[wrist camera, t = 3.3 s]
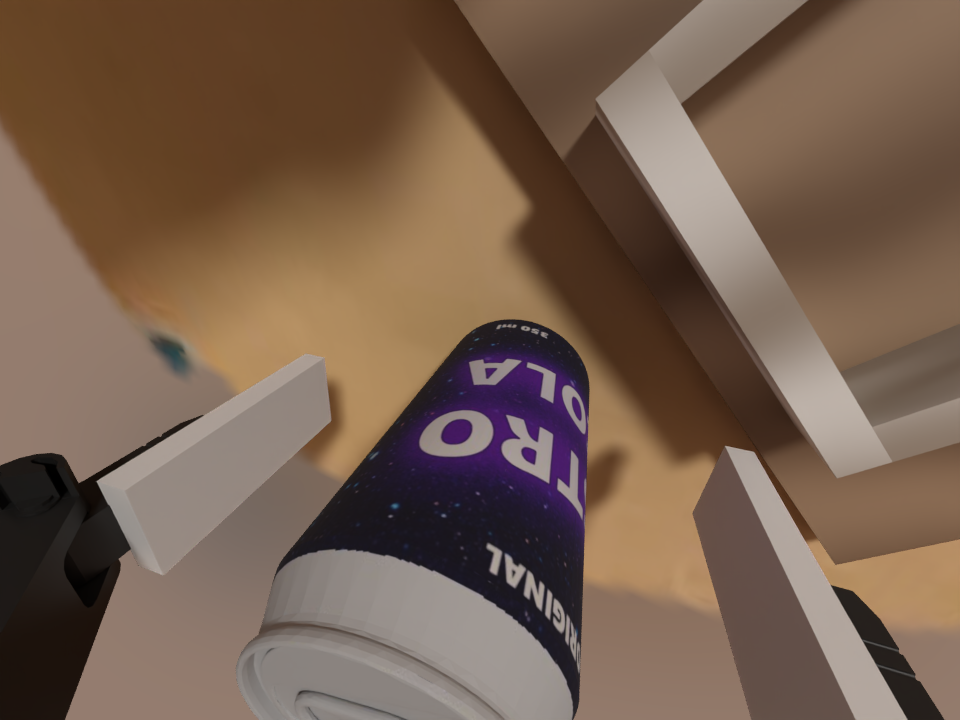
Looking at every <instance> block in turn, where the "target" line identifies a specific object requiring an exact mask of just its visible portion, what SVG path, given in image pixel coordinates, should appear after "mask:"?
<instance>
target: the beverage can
mask: <svg viewBox="0 0 960 720" xmlns="http://www.w3.org/2000/svg"><path fill="white" fill-rule="evenodd" d="M588 417H589V379H588V375H587V371H586V368H585V366H584V364H583V362H582V360H581V358H580V356H579V355H578V353H577V352H576V351H575V349H574V348H573V347H572V346H571V345H570V344H569V343H568V342H567V341H566V340H565V339H564V338H563V337H561V336H560V335H559V334H557V333H556V332H554V331H552V330H550V329H549V328H546V327H544V326H542V325H539V324H536V323H533V322H529V321H524V320H499V321H494V322H490V323H487V324H484V325H482V326H480V327H478V328H476V329H474V330H473V331H471V332H470V333H469V334H467V335H466V336H465V337H464V338H463V339H462V340H461V341H460V343H459V344H458V345H457V346H456V348H455V349H454V350H453V351H452V352H451V354H450V355H449V356H448V357H447V359H446V360H445V361H444V362H443V363H442V365H441V366H440V367H439V368H438V370H437V371H436V372H435V373H434V374H433V376H432V377H431V378H430V379H429V381H428V382H427V383H426V384H425V386H424V387H423V388H422V389H421V390H420V392H419V393H418V394H417V395H416V397H415V398H414V399H413V400H412V401H411V403H410V404H409V405H408V406H407V408H406V409H405V410H404V411H403V412H402V414H401V415H400V416H399V417H398V419H397V420H396V421H395V422H394V423H393V425H392V426H391V427H390V428H389V430H388V431H387V432H386V433H385V434H384V436H383V437H382V438H381V439H380V441H379V442H378V443H377V444H376V445H375V447H374V448H373V449H372V450H371V452H370V453H369V454H368V455H367V456H366V458H365V459H364V460H363V461H362V463H361V464H360V465H359V466H358V467H357V469H356V470H355V471H354V472H353V474H352V475H351V476H350V477H349V478H348V480H347V481H346V482H345V483H344V485H343V486H342V487H341V488H340V490H339V491H338V492H337V493H336V494H335V496H334V497H333V498H332V499H331V501H330V502H329V503H328V504H327V505H326V507H325V508H324V509H323V510H322V512H321V513H320V514H319V515H318V517H317V518H316V519H315V520H314V521H313V523H312V524H311V525H310V526H309V528H308V529H307V530H306V531H305V532H304V534H303V535H302V536H301V537H300V538H299V540H298V541H297V542H296V543H295V545H294V546H293V547H292V548H291V549H290V551H289V552H288V553H287V554H286V556H285V557H284V558H283V560H282V561H281V563H280V564H279V567H278V568H277V571H276V574H275V577H274V580H273V584H272V588H271V592H270V595H269V599H268V603H267V607H266V611H265V614H264V618H263V622H262V625H261V628H260V631H259V635H257V636H256V637H255V638H254V639H253V640H251V641H250V642H249V643H248V644H247V646H246V647H245V648H244V650H243V651H242V652H241V654H240V657H239V659H238V662H237V666H236V677H237V683H238V686H239V689H240V692H241V694H242V696H243V697H244V699H245V701H246V703H247V704H248V706H249V708H250V709H251V710H252V712H253V713H254V714H255V716H256V717H257V718H258V719H259V720H573V719H574V716H575V714H576V712H577V708H578V704H579V687H580V657H581V627H582V625H581V624H582V597H583V596H582V595H583V567H584V537H585V507H586V477H587V447H588Z"/></svg>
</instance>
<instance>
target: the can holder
mask: <svg viewBox="0 0 960 720" xmlns="http://www.w3.org/2000/svg"><path fill="white" fill-rule="evenodd" d="M454 1H455V3H456V4H457V6H458V7H459V9H460V10H461V12H462V13H463V15H464V16H465V18H466V19H467V21H468V22H469V24H470V25H471V26H472V28H473V29H474V31H475V32H476V34H477V35H478V37H479V38H480V40H481V41H482V43H483V44H484V46H485V47H486V49H487V50H488V52H489V53H490V55H491V56H492V58H493V59H494V61H495V62H496V63H497V65H498V66H499V68H500V69H501V71H502V72H503V74H504V75H505V77H506V78H507V80H508V81H509V83H510V84H511V86H512V87H513V89H514V90H515V92H516V93H517V95H518V96H519V97H520V99H521V100H522V102H523V103H524V105H525V106H526V108H527V109H528V111H529V112H530V114H531V115H532V117H533V118H534V120H535V121H536V123H537V124H538V126H539V127H540V129H541V130H542V132H543V133H544V134H545V136H546V137H547V139H548V140H549V142H550V143H551V145H552V146H553V148H554V149H555V151H556V152H557V154H558V155H559V157H560V158H561V160H562V161H563V163H564V164H565V166H566V167H567V168H568V170H569V171H570V173H571V174H572V176H573V177H574V179H575V180H576V182H577V183H578V185H579V186H580V188H581V189H582V191H583V192H584V194H585V195H586V197H587V198H588V200H589V201H590V203H591V204H592V205H593V207H594V208H595V210H596V211H597V213H598V214H599V216H600V217H601V219H602V220H603V222H604V223H605V225H606V226H607V228H608V229H609V231H610V232H611V234H612V235H613V237H614V238H615V239H616V241H617V242H618V244H619V245H620V247H621V248H622V250H623V251H624V253H625V254H626V256H627V257H628V259H629V260H630V262H631V263H632V265H633V266H634V268H635V269H636V271H637V272H638V273H639V275H640V276H641V278H642V279H643V281H644V282H645V284H646V285H647V287H648V288H649V290H650V291H651V293H652V294H653V296H654V297H655V299H656V300H657V302H658V303H659V305H660V306H661V308H662V309H663V310H664V312H665V313H666V315H667V316H668V318H669V319H670V321H671V322H672V324H673V325H674V327H675V328H676V330H677V331H678V333H679V334H680V336H681V337H682V339H683V340H684V342H685V343H686V344H687V346H688V347H689V349H690V350H691V352H692V353H693V355H694V356H695V358H696V359H697V361H698V362H699V364H700V365H701V367H702V368H703V370H704V371H705V373H706V374H707V376H708V377H709V379H710V380H711V381H712V383H713V384H714V386H715V387H716V389H717V390H718V392H719V393H720V395H721V396H722V398H723V399H724V401H725V402H726V404H727V405H728V407H729V408H730V410H731V411H732V413H733V414H734V415H735V417H736V418H737V420H738V421H739V423H740V424H741V426H742V427H743V429H744V430H745V432H746V433H747V435H748V436H749V438H750V439H751V441H752V442H753V444H754V445H755V447H756V448H757V450H758V451H759V452H760V454H761V455H762V457H763V458H764V460H765V461H766V463H767V464H768V466H769V467H770V469H771V470H772V472H773V473H774V475H775V476H776V478H777V479H778V481H779V482H780V484H781V485H782V486H783V488H784V489H785V491H786V492H787V494H788V495H789V497H790V498H791V500H792V501H793V503H794V504H795V506H796V507H797V509H798V510H799V512H800V513H801V515H802V516H803V518H804V519H805V521H806V522H807V523H808V525H809V526H810V528H811V529H812V531H813V532H814V534H815V535H816V537H817V538H818V540H819V541H820V543H821V544H822V546H823V547H824V549H825V550H826V552H827V553H828V555H829V556H830V557H831V559H832V560H833V562H834V563H835V565H837V564H842V563H847V562H852V561H856V560H861V559H866V558H871V557H876V556H881V555H885V554H890V553H895V552H900V551H905V550H910V549H915V548H919V547H924V546H929V545H934V544H939V543H944V542H949V541H953V540H958V539H960V0H454Z"/></svg>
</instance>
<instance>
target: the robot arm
mask: <svg viewBox="0 0 960 720" xmlns="http://www.w3.org/2000/svg"><path fill="white" fill-rule="evenodd" d="M330 422H331V412H330V403H329V394H328V385H327V376H326V367H325V358H324V357H319V356H314V355H310V354H304V355H303V356H301V357H299V358H298V359H296V360H294V361H293V362H291V363H290V364H288V365H286V366H285V367H283V368H281V369H280V370H278V371H276V372H275V373H273V374H272V375H270V376H268V377H267V378H265V379H263V380H262V381H260V382H258V383H257V384H255V385H253V386H252V387H250V388H249V389H247V390H245V391H244V392H242V393H240V394H239V395H237V396H235V397H234V398H232V399H230V400H229V401H227V402H226V403H224V404H222V405H221V406H219V407H218V408H216V409H214V410H212V411H211V412H209V413H208V414H206V415H201V416H199V417H196V418H193V419H191V420H188V421H185V422H183V423H180V424H179V425H177V426H175V427H174V428H172V429H170V430H169V431H167V432H165V433H163V434H162V436H161V437H157V438H155V439H153V440H152V441H150V442H148V443H147V444H146V446H142V447H140V448H138V449H136V450H135V451H133V452H131V453H130V454H128V455H127V456H125V457H123V458H121V459H120V460H118V461H116V462H115V463H113V464H111V465H110V466H108V467H106V468H104V469H103V470H101V471H100V472H98V473H96V474H95V475H93V476H91V477H89V478H88V479H86V480H85V481H82V482H80V483H78V481H77V480H76V478H75V476H74V474H73V472H72V470H71V469H70V466H69V465H68V462H67V461H66V459H65V458H64V457H63V456H62V455H59V454H54V453H47V454H36V455H31V456H27V457H23V458H19V459H16V460H13V461H11V462H8V463H5V464H3V465H1V466H0V720H65V718H66V715H67V713H68V710H69V707H70V705H71V702H72V699H73V697H74V694H75V691H76V689H77V686H78V683H79V681H80V678H81V675H82V672H83V670H84V667H85V664H86V662H87V659H88V656H89V654H90V651H91V648H92V646H93V643H94V640H95V637H96V635H97V632H98V629H99V627H100V624H101V621H102V618H103V616H104V613H105V610H106V608H107V605H108V603H109V600H110V597H111V594H112V592H113V589H114V586H115V584H116V581H117V578H118V576H119V573H120V566H121V564H120V561H119V558H120V557H121V556H123V555H124V554H125V553H126V552H127V551H129V550H131V552H132V554H133V556H134V558H135V560H136V562H137V564H138V566H140V567H143V568H146V569H148V570H151V571H153V572H156V573H159V574H161V575H165V574H166V573H167V572H168V571H169V570H170V569H171V568H172V567H173V566H174V565H175V564H177V563H178V561H180V560H181V559H182V558H183V557H184V556H185V555H186V554H187V553H189V552H190V551H191V550H192V549H193V548H194V547H195V546H196V545H197V544H198V543H199V542H200V541H201V540H203V539H204V538H205V537H206V536H207V535H208V534H209V533H210V532H211V531H212V530H213V529H215V528H216V527H217V526H218V525H219V524H220V523H221V522H222V521H223V520H224V519H225V518H226V517H228V516H229V515H230V514H231V513H232V512H233V511H234V510H235V509H236V508H237V507H238V506H239V505H240V504H242V503H243V502H244V501H245V500H246V499H247V498H248V497H249V496H250V495H251V494H252V493H254V491H256V490H257V489H258V488H259V487H260V486H261V485H262V484H263V483H264V482H266V481H267V480H268V479H269V478H270V477H271V476H272V475H273V474H274V473H275V472H276V471H277V470H279V469H280V468H281V467H282V466H283V465H284V464H285V463H286V462H287V461H288V460H289V459H290V458H292V457H293V456H294V455H295V454H296V453H297V452H298V451H299V450H300V449H301V448H302V447H304V446H305V445H306V444H307V443H308V442H309V441H310V440H311V439H312V438H313V437H314V436H315V435H317V434H318V433H319V432H320V431H321V430H322V429H323V428H324V427H325V426H326V425H327V424H328V423H330ZM693 516H694V520H695V523H696V527H697V530H698V534H699V537H700V541H701V544H702V548H703V551H704V555H705V558H706V562H707V565H708V569H709V572H710V576H711V579H712V583H713V586H714V590H715V593H716V597H717V600H718V604H719V607H720V611H721V614H722V618H723V621H724V625H725V628H726V632H727V635H728V639H729V642H730V646H731V649H732V653H733V656H734V660H735V663H736V667H737V670H738V674H739V677H740V681H741V684H742V688H743V691H744V695H745V698H746V702H747V705H748V709H749V712H750V716H751V719H752V720H944V719H943V717H942V715H941V714H940V712H939V711H938V709H937V708H936V706H935V704H934V703H933V701H932V700H931V698H930V697H929V695H928V693H927V692H926V690H925V689H924V687H923V686H922V684H921V682H920V681H917V680H916V679H915V673H914V671H913V670H912V668H911V667H910V665H909V664H908V662H907V661H906V659H905V658H904V656H903V655H901V654H899V648H898V647H897V645H896V644H895V642H894V640H893V639H892V637H891V636H890V634H889V632H888V631H887V629H886V628H885V626H884V625H883V623H882V621H881V620H880V619H879V618H878V617H877V616H876V615H875V614H874V612H873V611H872V610H871V609H870V608H869V607H868V606H867V605H866V604H865V603H864V602H863V601H862V600H861V599H860V598H859V597H858V596H857V595H856V594H855V593H854V592H853V591H850V590H847V589H843V588H839V587H836V586H832V585H830V584H829V582H828V580H827V578H826V577H825V575H824V573H823V571H822V570H821V568H820V566H819V564H818V563H817V561H816V559H815V557H814V556H813V554H812V552H811V550H810V549H809V547H808V545H807V543H806V542H805V540H804V538H803V536H802V535H801V533H800V531H799V529H798V528H797V526H796V524H795V522H794V521H793V519H792V517H791V515H790V514H789V512H788V510H787V508H786V507H785V505H784V503H783V502H782V500H781V498H780V496H779V495H778V493H777V491H776V489H775V488H774V486H773V484H772V482H771V481H770V479H769V477H768V475H767V474H766V472H765V470H764V468H763V467H762V465H761V463H760V461H759V460H758V458H757V456H756V454H755V453H754V452H752V451H747V450H743V449H738V448H734V447H729V446H724V448H723V450H722V453H721V455H720V457H719V459H718V461H717V463H716V465H715V467H714V469H713V471H712V473H711V476H710V478H709V480H708V482H707V484H706V486H705V488H704V490H703V492H702V494H701V497H700V499H699V501H698V503H697V505H696V507H695V509H694V511H693Z"/></svg>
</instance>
